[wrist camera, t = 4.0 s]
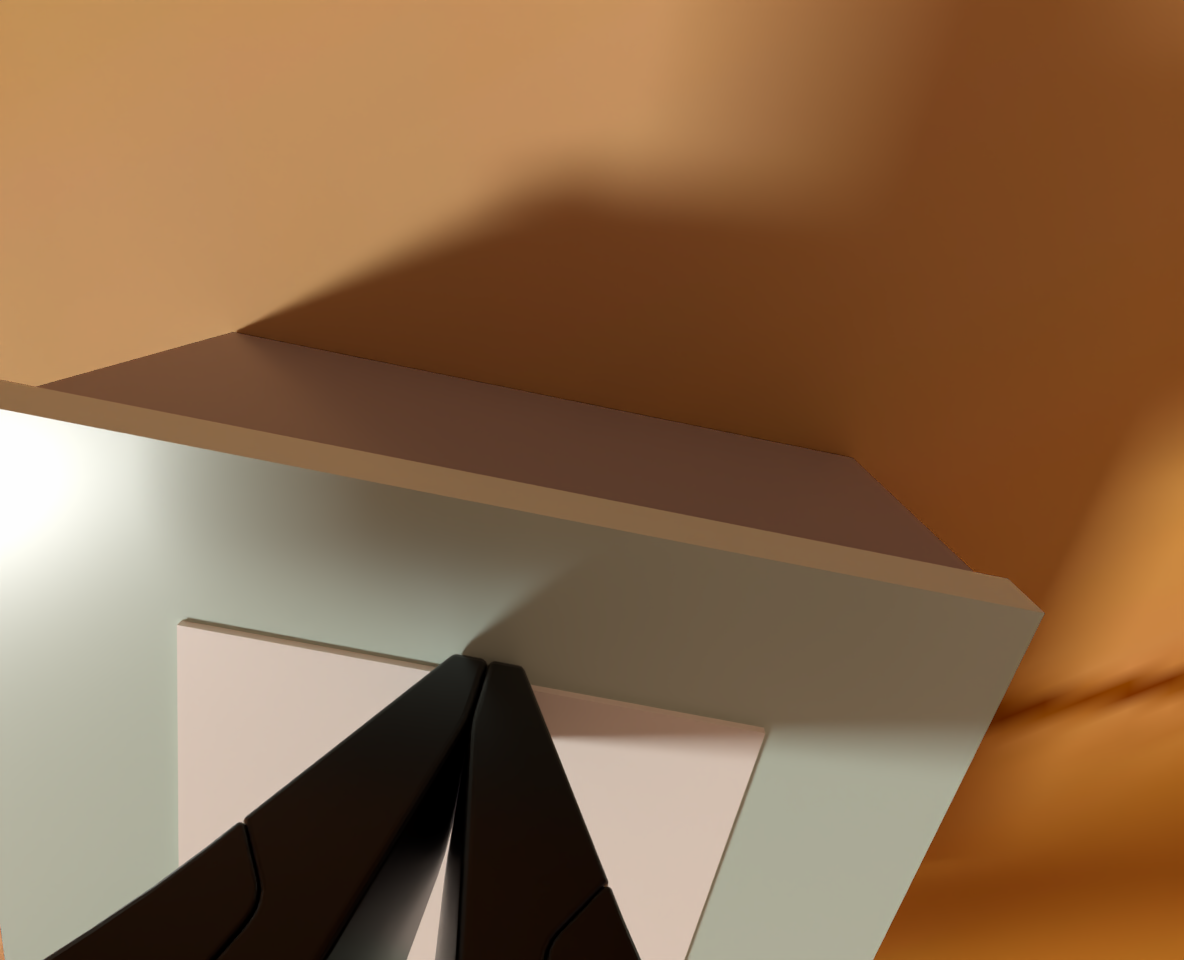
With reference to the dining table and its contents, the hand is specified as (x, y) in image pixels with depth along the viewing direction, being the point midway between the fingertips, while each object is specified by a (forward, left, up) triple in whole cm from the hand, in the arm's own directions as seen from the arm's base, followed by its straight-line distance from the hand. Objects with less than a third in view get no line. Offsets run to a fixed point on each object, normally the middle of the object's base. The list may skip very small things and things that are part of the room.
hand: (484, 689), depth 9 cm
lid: (-4, 0, -1) cm, 4 cm away
